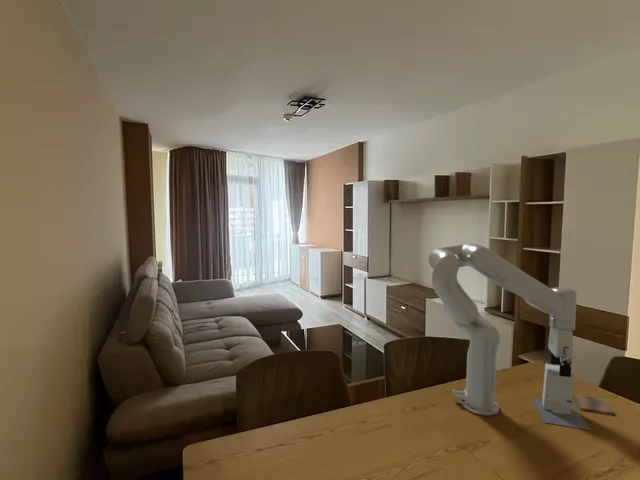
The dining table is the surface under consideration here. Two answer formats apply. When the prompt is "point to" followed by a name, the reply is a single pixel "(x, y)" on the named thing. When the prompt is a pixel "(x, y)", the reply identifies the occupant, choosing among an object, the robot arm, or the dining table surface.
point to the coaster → (592, 404)
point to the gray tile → (561, 417)
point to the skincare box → (557, 390)
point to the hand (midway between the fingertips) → (560, 370)
